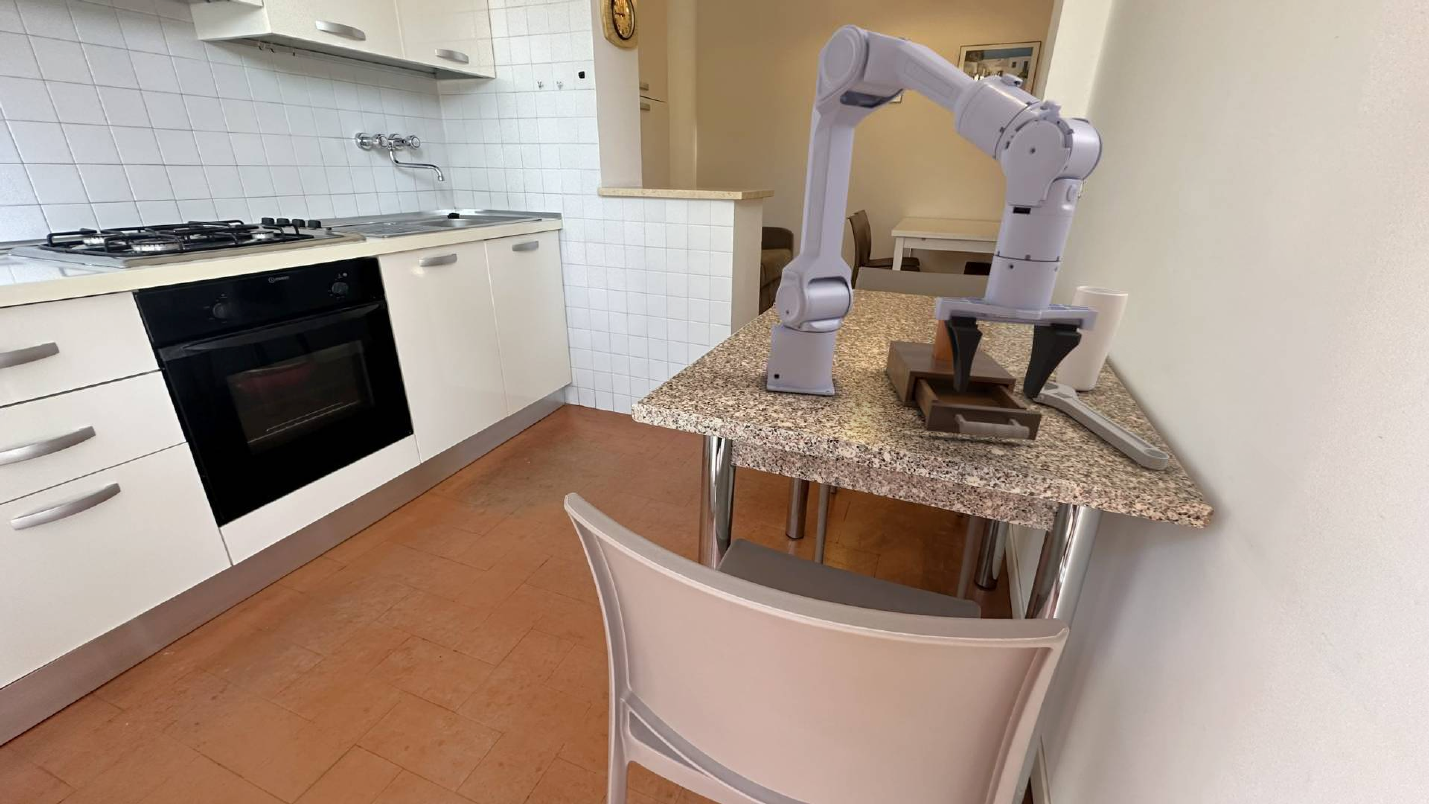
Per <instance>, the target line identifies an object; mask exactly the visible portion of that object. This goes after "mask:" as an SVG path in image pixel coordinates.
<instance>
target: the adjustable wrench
mask: <svg viewBox="0 0 1429 804" xmlns="http://www.w3.org/2000/svg"><path fill="white" fill-rule="evenodd" d="M1031 399H1032V401H1033V402H1035V403H1041V404H1045V405H1048V406H1051V407H1054V408H1056V409H1058V410H1060V411H1062V412H1064V413H1066V414H1067V415H1068V416H1070V417H1071V418H1073V420H1076V421H1077V422H1078V423H1080V424H1082V425H1083V426H1084V427H1085V428H1087V429H1089V430H1090V431H1091V432H1093V433H1094V434H1096V435H1097V436H1099V437H1100V438H1101V439H1103V440H1104V441H1106V442H1107V443H1109V444H1110V445H1112V446H1113V447H1114V448H1116V449H1117V450H1118V451H1120V452H1122V453H1123V454H1125V455H1126V456H1127V457H1129V458H1130V459H1132V460H1133V461H1134V462H1136V463H1137V464H1139V465H1141V466H1142V467H1144V468H1148V469H1151V470H1154V471H1155V470H1156V471H1164V470H1165V469H1166V467H1167V464H1168V461H1169V460H1170V456H1169V454H1167V453H1166V452H1164V451H1162V450H1161V449H1159V448H1158V447H1157V446H1155V445H1153V444H1151V443H1150V442H1148V441H1147V440H1144V439H1143V438H1141V437H1140V436H1138V435H1136V434H1135V433H1133V432H1132V431H1129V429H1127V428H1125V427H1123V426H1121V425H1120V424H1118V423H1117V422H1115V421H1114V420H1111V419H1110V418H1108V417H1107V416H1105V415H1104V414H1102V413H1100V412H1098V411H1097V410H1096V409H1093V408H1092V407H1090V406H1088V405H1087V404H1085V403H1084V402H1082V401H1081V400H1080V399H1079V398H1078V396H1077V390H1074V389H1073V388H1071V387H1069V386H1066V385H1064V384H1060V383H1057V382H1056V381H1051V380H1047V381H1046V383H1045V385H1044V386H1043V388H1042V390H1041V391H1040V393H1039V395H1038V397H1037V398H1031Z"/></svg>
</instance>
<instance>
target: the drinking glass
mask: <svg viewBox="0 0 1429 804" xmlns="http://www.w3.org/2000/svg"><path fill="white" fill-rule="evenodd" d="M1129 296H1130V294H1129V292H1127V291H1124V290H1120V289H1116V288H1115V289H1114V288H1108V287H1102V286H1101V287H1100V286H1087V285H1085V286H1077V287H1076V288H1075V290H1074V293H1073V296H1072V300H1071V303H1070V306H1080V307H1089V308H1092V309H1094V310H1097V311H1098V315H1097V319H1096V322H1095V325H1094V329H1093V331H1089V330H1081V329H1079V328H1077V332H1078V333H1080V334H1082V337H1081V341H1080V343H1079V345H1078V346H1077V347H1075V348H1074V349H1073V350H1072V351H1071V352H1070V353H1069V354H1068V355H1067V356H1066V357H1065V358H1064V359H1063V360H1062V361H1061V362H1060V363H1059V365H1058V369H1057V373H1056V377H1055V382H1056V383H1060V384H1064V385H1066V386H1069V387H1071V388H1073V389H1074V390H1075V391H1076V392H1089V391H1093V390H1094V389H1095V387H1096V386H1097V382H1098V379H1099V376H1100V374H1101V371H1102V368H1103V366H1104V364H1105V361H1106V359H1107V356H1108V354H1109V352H1110V349H1111V347H1112V344H1113V343H1114V340H1115V337H1116V335H1117V332H1118V330H1119V328H1120V325H1121V323H1122V320H1123V318H1124V314H1125V310H1126V307H1127V303H1128V301H1129V300H1128V299H1129Z"/></svg>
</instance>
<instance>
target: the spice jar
mask: <svg viewBox="0 0 1429 804" xmlns="http://www.w3.org/2000/svg"><path fill="white" fill-rule="evenodd" d="M933 344H934V346H933V351H932V356H933V357H935V358H938V359H941V360H946V361H953V357H952V350H951V345H950V341H949V337H948V334H947V330H946V327H945V323H944V320H938V319H937V325H936V331H935V336H934V342H933Z"/></svg>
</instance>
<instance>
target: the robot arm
mask: <svg viewBox="0 0 1429 804" xmlns="http://www.w3.org/2000/svg"><path fill="white" fill-rule="evenodd" d="M817 62H818V63H817V74H816V85H815V97H814V101H813V104H812V105H813V106H812V111H811V119H810V130H809V144H808V155H807V167H806V177H805V189H804V200H803V201H804V203H803V215H802V227H801V235H800V236H801V237H800V239H801V240H800V250H799V254H798V255H797V256H795V258H794V259H792V260H791V261H790V262H789V263H788V264H787V265H786V266H784V267H783V268H782V269H781V270H782V273H781V279H780V283H779V286H778V288H777V291H776V294H775V301H774V302H775V309H776V313H777V315H778V317H779V319H780V321H781V323H778V322H777V323H772V325H771V333H770V345H769V346H770V347H769V358H768V360H766V364H765V365H766V367H765V374H767V382H766V390H768V391H774V392H775V391H776V392H786V393H787V392H788V393H796V394H797V393H798V394H810V395H821V396H834V395H835V393H836V391H835V388H834V383H833V379H832V375H833V365H834V357H835V349H836V341H837V336H838V335H837V333H838V328H840V327H842V324H843V320H844V319H845V318H847V317H848V316H849V314H851V311H852V309H853V305H854V292H853V288H852V269H851V268H850V266H849V264H847V262H846V261H845V260H844V259H843V257H842V248H843V241H844V240H843V239H844V230H845V221H846V211H847V204H848V203H847V202H848V193H849V184H850V174H851V165H852V158H853V157H852V156H853V148H854V139H855V138H854V137H855V130H856V128H857V127H858V125H859V124H861V122H863V120H864V119H865V118H866V117H868V116H870V115H871V114H873V113H875V112H877V111H878V110H879V109H881V108H883V107H885V106H886V105H889V103H891V102H892V101H894V100H896V99H898V98H899V97H900V96H901V95H903V94H904V93H905V92H906V91H907V90H908V91H914V92H916V93H917V94H920V95H921V96H923V97H925V98H926V99H928V100H930V101H931V102H933V103H935V104H936V105H938V106H940V107H942V108H943V109H945V110H947V111H948V112H950V113H952V114H953V128H954V131H955V132H956V134H957V135H959V136H960V137H961V138H962V139H964V140H965V141H967V142H969V143H970V144H971V145H973V146H974V147H976V148H977V149H979V150H980V151H982V152H983V153H984V154H986V155H987V156H989V157H990V158H991V159H993V160H994V161H996V162H997V163H998V164H1000V165H1001V170H1002V173H1003V176H1004V177H1005V179H1006V190H1005V194H1004V198H1005V202H1004V208H1003V213H1002V217H1001V220H1000V226H999V230H998V235H997V239H996V244H995V248H994V252H993V257H992V261H991V266H990V271H989V275H988V279H987V284H986V287H985V288H986V289H985V293H984V297H948V296H947V297H944V296H937V297H936V299H935V305H934V310H933V316H934V318H935V319H936V320H937V321H938V320H944V323H945V327H946V330H947V334H948V337H949V341H950V345H951V350H952V357H953V366H954V384H953V386H954V387H955V389H956V390H957V391H958V392H964V393H965V392H966V390H967V387H968V383H969V377H970V372H971V366H972V362H973V359H974V355H975V352H976V349H977V347H979V344H980V341H981V339H982V337H983V335H984V334H983V332H982V330H980V329H978V328H979V324H978V323H977V322H984V323H985V322H986V323H999V324H1014V325H1026V326H1027V325H1029V326H1033V335H1032V346H1031V352H1030V358H1029V362H1028V366H1027V369H1026V372H1025V376H1024V380H1023V384H1022V392H1023V393H1024V394H1025V395H1026V396H1027V397H1029V398H1030V399H1032V398H1037V397H1038V395H1039V393H1040V391H1041V390H1042V388H1043V387H1044V385H1045V383H1046V381H1049V378H1050V377H1051V375H1052V374H1053V372H1055V370H1056V369H1057V368H1058V367H1059V364H1060V362H1061V361H1062V360H1063V359H1064V358H1065V357H1066V356H1067V355H1068V354H1069V353H1070V352H1071V351H1072V350H1073V349H1074V348H1075V347H1077V346H1078V345H1079V343H1080V341H1081V337H1082V334H1080V333H1078V332H1077V328H1079V329H1081V330H1089V331H1093V329H1094V325H1095V322H1096V319H1097V315H1098V311H1097V310H1094V309H1092V308H1089V307H1080V306H1071V304H1070V305H1069V304H1060V303H1054V302H1053V303H1052V302H1051V301H1052V298H1053V297H1052V296H1053V292H1054V288H1055V285H1056V281H1057V277H1058V274H1059V269H1060V266H1061V262H1062V259H1063V255H1064V252H1065V247H1066V243H1067V240H1068V235H1069V233H1070V228H1071V224H1072V221H1073V217H1074V213H1075V210H1076V206H1077V201H1078V197H1079V194H1080V190H1081V185H1082V182H1084V181H1085V180H1086V179H1087V178H1088V177H1090V176H1091V175H1092V174H1093V172H1094V171H1095V170H1096V169H1097V166H1098V165H1099V163H1100V161H1101V158H1102V154H1103V151H1104V150H1103V149H1104V145H1103V143H1104V142H1103V138H1102V135H1101V133H1100V132H1099V130H1098V129H1097V128H1096V127H1095V126H1094V125H1093V124H1092V123H1091V122H1090V120H1089V119H1088V118H1083V117H1070V118H1069V117H1063V116H1061V114H1060V110H1061V108H1062V104H1061V103H1059V102H1057V101H1055V100H1053V99H1045V101H1042V100H1041V99H1039V98H1037V97H1035V96H1034V95H1032V94H1031V93H1028V92H1027V91H1026V90H1023V89H1022V88H1020V87H1021V86H1022V84H1023V79H1021V78H1020V77H1018V76H1016V75H1015V74H1010V73H1004V74H1003V75H1002V76H999V75H995V74H993V75H988V76H986V77H983V78H981V79H978V80H976V79H974V78H973V77H971V76H970V75H969V74H967V73H965V72H964V71H962V70H961V69H960V68H958V67H957V66H956V65H954V64H953V63H951V62H950V61H948V60H947V59H945V58H943V57H942V56H941V55H939V54H938V53H937V52H935V51H934V50H933V49H931V48H929V47H928V46H926V45H924V44H921V43H917V42H913V41H911V40H910V39H908V38H905V37H895V36H891V35H888V34H884V33H879V32H875V31H871V30H869V29H863V28H861V27H859V26H857V25H854V24H846V25H842V26H841V27H839V28H838V29H836V31H835V32H834V33H833V34H832V35H831V37H830V38H829V40H827V42H826V43H825V45H824V46H823V48H822V49H821V50H820V52H819V53H818V60H817Z"/></svg>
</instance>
